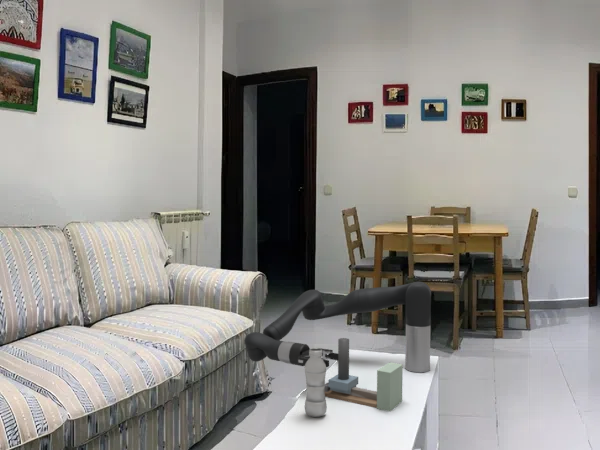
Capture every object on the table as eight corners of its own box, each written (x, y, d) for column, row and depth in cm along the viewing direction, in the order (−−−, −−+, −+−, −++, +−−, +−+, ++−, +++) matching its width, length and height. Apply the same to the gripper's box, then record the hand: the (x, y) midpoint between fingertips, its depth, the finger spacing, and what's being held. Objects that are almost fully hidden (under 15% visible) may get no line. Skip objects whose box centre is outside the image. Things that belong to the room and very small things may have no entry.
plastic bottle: (324, 420, 164) (325, 353, 163) (302, 418, 165) (302, 352, 164) (328, 412, 170) (328, 347, 169) (306, 410, 172) (306, 346, 171)
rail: (334, 387, 192) (334, 379, 192) (388, 398, 182) (388, 389, 182) (321, 395, 185) (321, 386, 184) (376, 407, 174) (376, 398, 174)
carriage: (339, 384, 190) (340, 335, 190) (358, 387, 187) (358, 338, 186) (328, 391, 184) (328, 340, 183) (347, 395, 180) (347, 343, 179)
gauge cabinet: (387, 398, 182) (387, 362, 182) (402, 401, 180) (402, 364, 179) (374, 407, 174) (375, 370, 173) (390, 411, 171) (390, 372, 171)
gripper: (282, 347, 189) (324, 354, 180) (304, 338, 201) (344, 344, 192) (282, 369, 189) (324, 377, 181) (304, 359, 201) (344, 366, 193)
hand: (334, 360), depth 186 cm, fingers open, 8 cm apart
